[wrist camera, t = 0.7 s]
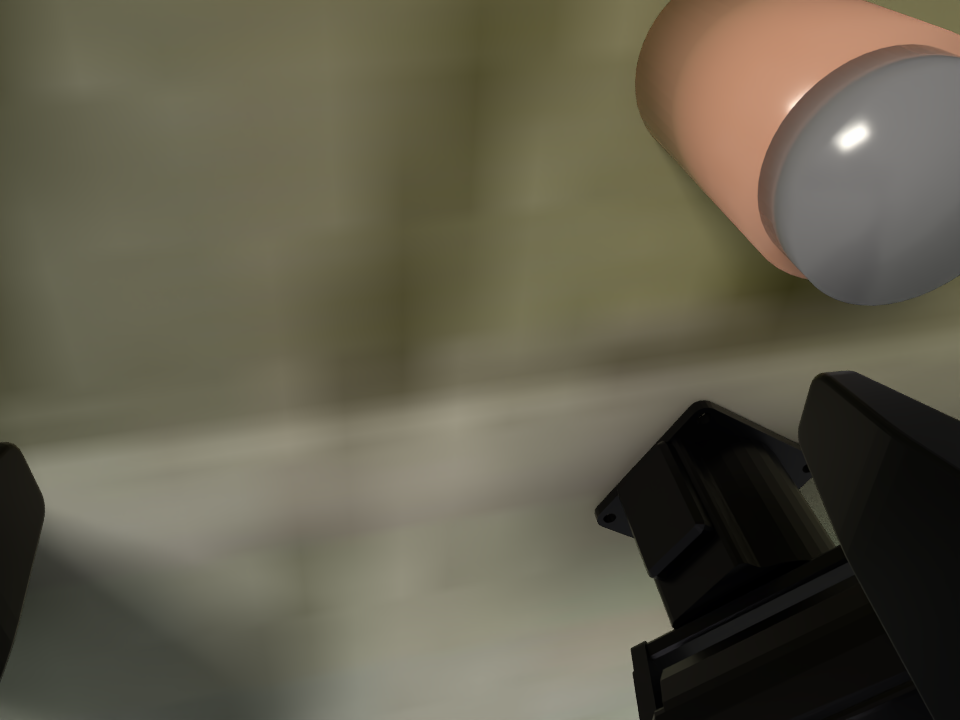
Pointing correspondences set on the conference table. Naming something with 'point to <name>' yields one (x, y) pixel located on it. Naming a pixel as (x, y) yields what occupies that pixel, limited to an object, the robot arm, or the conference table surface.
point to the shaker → (816, 135)
